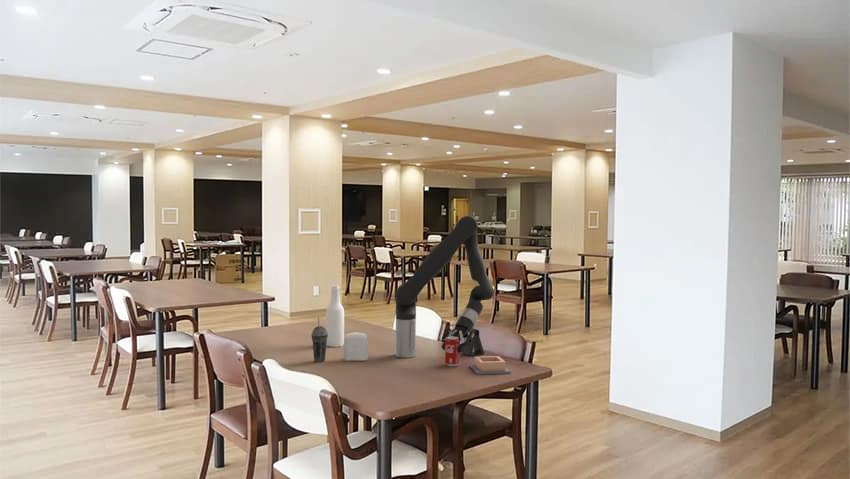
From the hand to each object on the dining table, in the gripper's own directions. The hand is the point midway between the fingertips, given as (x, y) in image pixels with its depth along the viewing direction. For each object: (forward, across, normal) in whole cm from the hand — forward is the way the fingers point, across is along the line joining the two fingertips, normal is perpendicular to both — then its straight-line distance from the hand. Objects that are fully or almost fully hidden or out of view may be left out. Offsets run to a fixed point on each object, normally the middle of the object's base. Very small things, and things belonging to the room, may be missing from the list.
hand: (450, 350), depth 260 cm
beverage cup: (+29, -47, -19) cm, 58 cm away
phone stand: (-13, -6, +22) cm, 27 cm away
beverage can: (+4, 0, +6) cm, 7 cm away
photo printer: (+20, -37, -10) cm, 43 cm away
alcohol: (+10, -67, -1) cm, 68 cm away
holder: (+1, +17, +8) cm, 19 cm away
